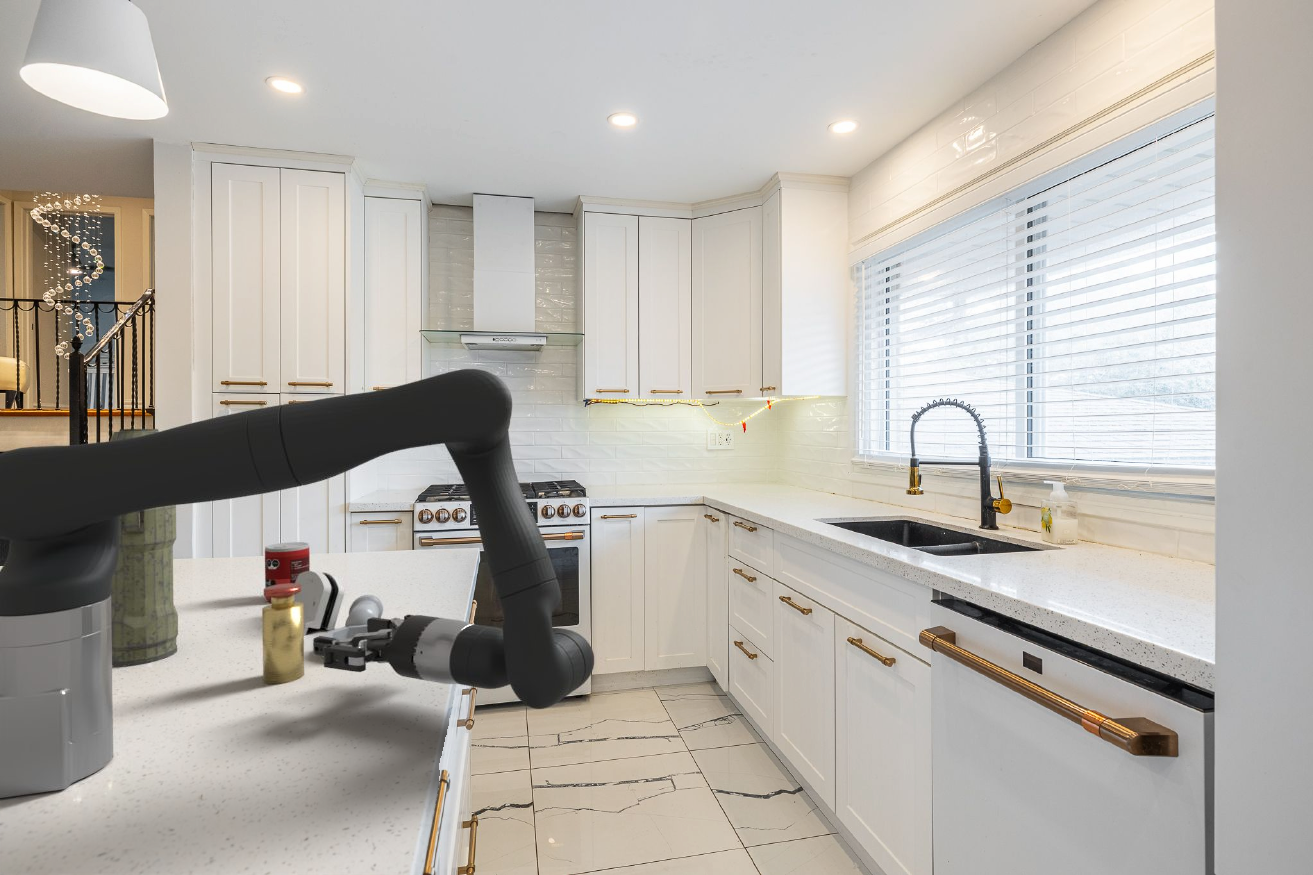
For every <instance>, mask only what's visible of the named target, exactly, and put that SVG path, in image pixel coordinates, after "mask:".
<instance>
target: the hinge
mask: <svg viewBox="0 0 1313 875" xmlns="http://www.w3.org/2000/svg"><path fill="white" fill-rule="evenodd" d="M295 583H296V584H301V592H299V593H296V594H294V602H302V603H303V619H304V637H305V636H306V635H307V633H308V630H309V628H311V629H316V630H320V629H321V628H324V629H325V630H326V631H332V630H335V627H336V624H337V621H338V620H337V619H338V617H339V614H340V609H341V607H342V603H343V599H344V596H345V587H344V586H343V583H342V582H341V580H340V579H339V578H338V577H336V576H334V575H333V574H331V573H327V572H321V571H317V570H310V571H306V572H303V573H300V574H299V575H298V577H297V580H296V582H295Z"/></svg>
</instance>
